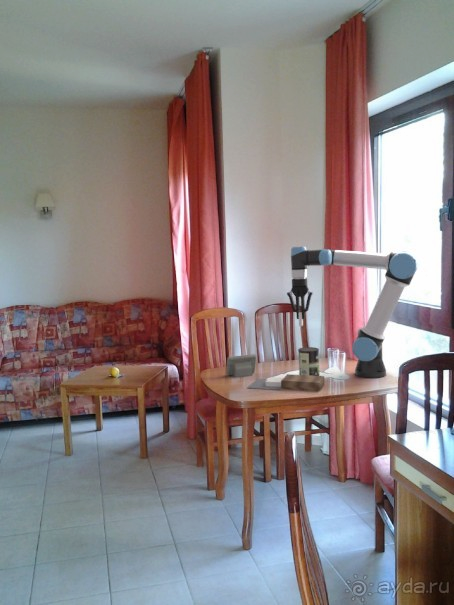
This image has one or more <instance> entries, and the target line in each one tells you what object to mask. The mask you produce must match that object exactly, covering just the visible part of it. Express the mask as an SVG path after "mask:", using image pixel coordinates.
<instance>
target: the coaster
mask: <svg viewBox="0 0 454 605" xmlns="http://www.w3.org/2000/svg"><path fill="white" fill-rule="evenodd" d="M283 378H284V377H268V378H267V381H266V386H273V387H281V380H282V379H283Z"/></svg>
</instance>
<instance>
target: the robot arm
mask: <svg viewBox="0 0 454 605" xmlns="http://www.w3.org/2000/svg"><path fill="white" fill-rule="evenodd" d="M290 260H291V261H290V262H291V263H290V265H291V266H290V267H291V278H292V279H291V289H290V290H289V291H288V292H286V295H287V297H289V302H290V307H291V308H292V312H294V313H296V320H298V326H299V327H303V326H304V320H305V318H306V316H305V313H306V312H308V311H309V309H310V303H311V298H312V296H313V295H314V292H313V291H311V290H310V289H309V287H308V278H307V277H308V267H309V266H324V267H325V266H344V267H352V268H354V267H355V268H363V269H374V270H376V269H377V270H386V272H385V274H384V276H385V279H386V280H385V282H384V285H383V286H382V289H381V291H380V294H379V296H378V298H377V300H376V302H375V304H374V307H373V309H372V312H371V314H370V316H369V318H368V319H367V322H366V325H364V326H363V327H361V328H359V329H358V331H357V337H356V339H355V340H354V342H353V343H352V349H351V350H352V353H353V355H354V357H355V358H356V359H357V361H356V365H355V368H354V374H356V375H355V376H357V377H362V378H368V379H369V378H370V379H371V378H373V379H374V378H382V377H385V376H386V375H387V369H386V366H385V364H384V361H383V342H384V340H385V336H384V332H385V330H386V328H387V326H388V323H389V322H390V319H391V318H392V315H393V313H394V311H395V308H396V307H397V305H398V302H399V300H400V297H401V295H402V293H403V292H404V289H405V288H406V287H408V286H410V285H411V282H412V280H413V279H414V276H415V274H416V272H417V270H418V268H419V264H420V261H419V258H418V256H416V255H415V254H414V253H413V252H411V251H406V250H405V251H397V252H395V251H389V252H388V253H380V252H365V251H356V250H355V251H354V250H353V251H352V250H342V249H341V250H339V249H329V248H323V249H312V250H311V249H309V250H308V249H307V246H292V247H291V250H290ZM293 295H294V296H293ZM306 295H307V298H306V299H307V300H306V302H305V296H306ZM294 297H295V300H294ZM305 303H306V304H305ZM300 309H301V310H300Z"/></svg>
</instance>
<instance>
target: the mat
mask: <svg viewBox="0 0 454 605" xmlns="http://www.w3.org/2000/svg"><path fill="white" fill-rule="evenodd" d="M267 379H268V378H267ZM267 379H266V378H265V379H264V378H263V379H262V378H257V379H255V380H254V381H252V383H251V384H249V385H248V386H247V388H246V389H254V390H256V389H257V390H267V389H268V390H269V391H270V390H271V391H272V390H273V391H281V390H282V389H281V387H273V386H266V381H267Z"/></svg>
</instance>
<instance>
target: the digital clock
mask: <svg viewBox="0 0 454 605" xmlns="http://www.w3.org/2000/svg"><path fill="white" fill-rule="evenodd" d="M256 363H257V355H256V354H253V353H252V354H243V355H234V356H228V357H227V358H226V369H225V375H226V376H227V375H228V376H230V375H231V376H233V375H234V376H233V377H234V378H236V377H237V378H243V377H252V376H253V374H254V373H255V372H256Z"/></svg>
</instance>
